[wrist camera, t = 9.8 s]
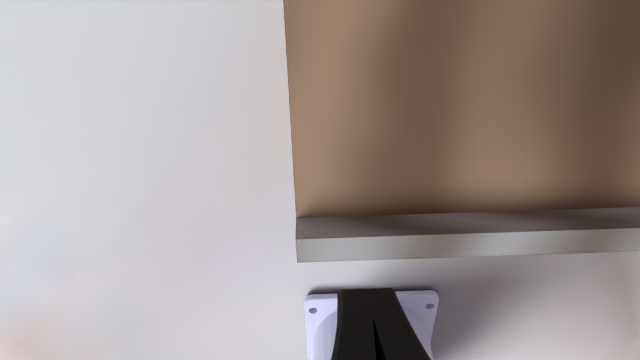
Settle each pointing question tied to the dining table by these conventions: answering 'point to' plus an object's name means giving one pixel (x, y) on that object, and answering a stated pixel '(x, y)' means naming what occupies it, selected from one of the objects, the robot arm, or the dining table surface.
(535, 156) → the slide box
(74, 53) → the dining table surface
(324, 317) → the robot arm
